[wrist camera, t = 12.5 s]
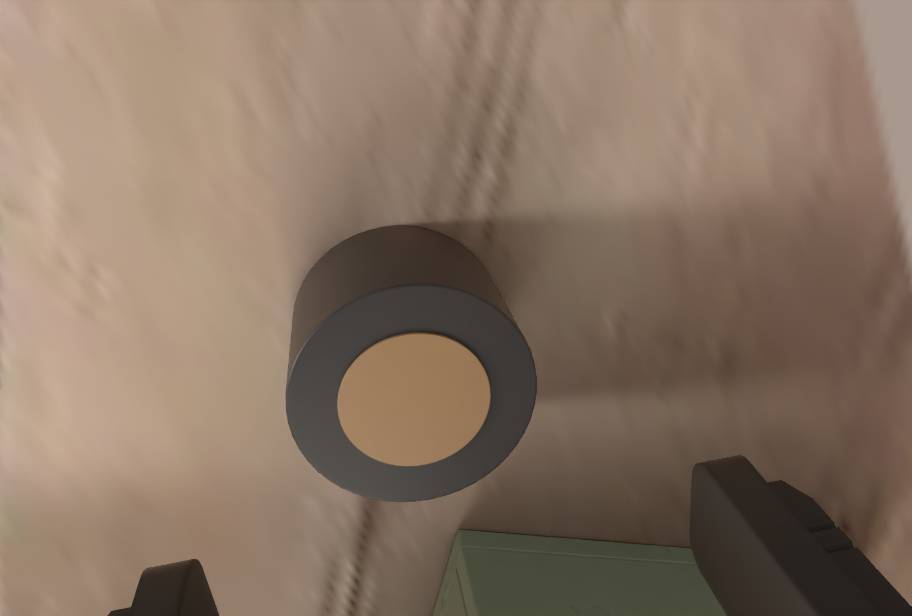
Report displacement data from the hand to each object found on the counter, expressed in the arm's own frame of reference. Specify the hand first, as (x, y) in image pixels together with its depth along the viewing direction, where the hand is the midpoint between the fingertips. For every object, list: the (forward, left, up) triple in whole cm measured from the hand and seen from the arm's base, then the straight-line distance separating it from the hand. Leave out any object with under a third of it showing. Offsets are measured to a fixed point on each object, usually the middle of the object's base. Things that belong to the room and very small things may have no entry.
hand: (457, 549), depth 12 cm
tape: (0, 0, -9) cm, 9 cm away
